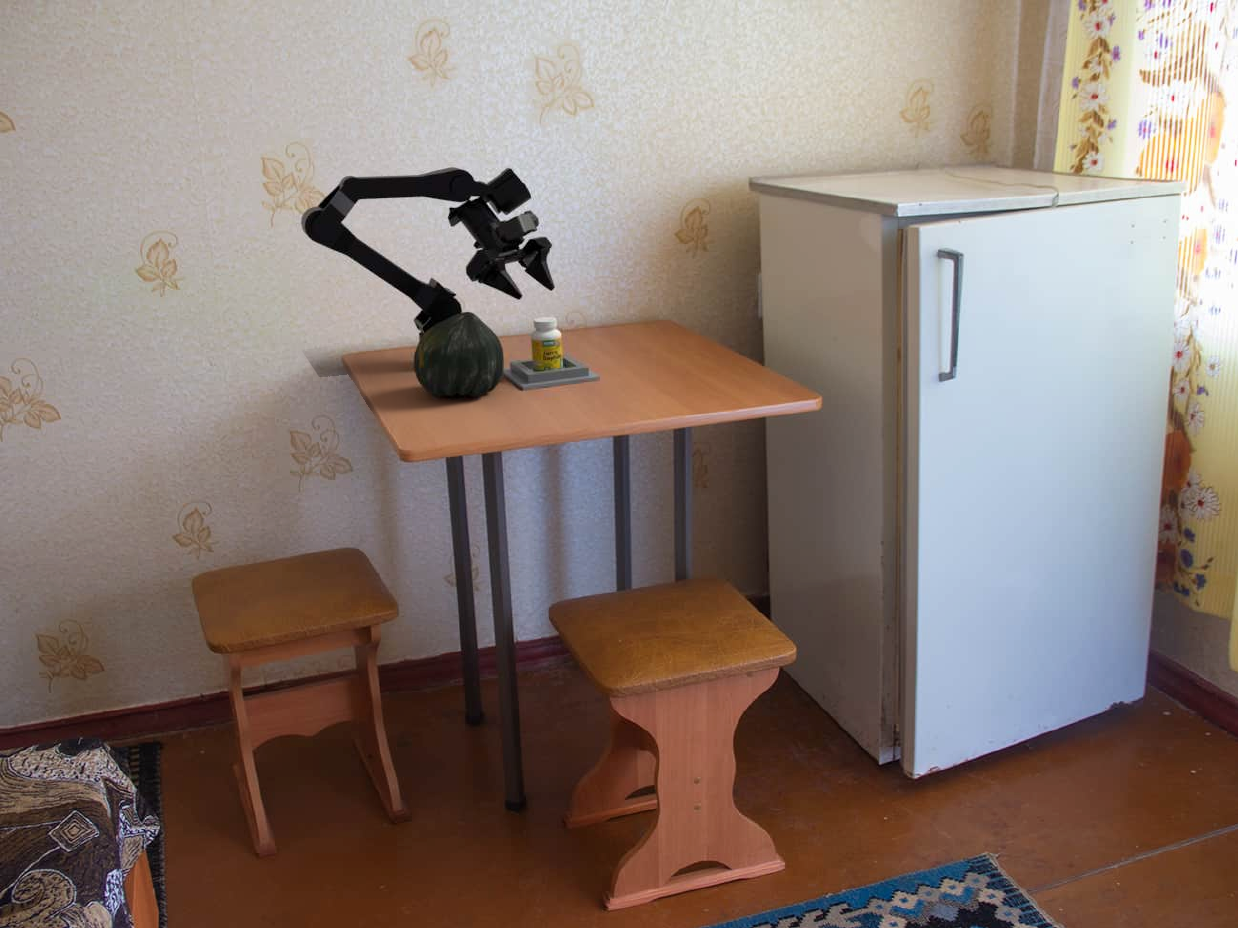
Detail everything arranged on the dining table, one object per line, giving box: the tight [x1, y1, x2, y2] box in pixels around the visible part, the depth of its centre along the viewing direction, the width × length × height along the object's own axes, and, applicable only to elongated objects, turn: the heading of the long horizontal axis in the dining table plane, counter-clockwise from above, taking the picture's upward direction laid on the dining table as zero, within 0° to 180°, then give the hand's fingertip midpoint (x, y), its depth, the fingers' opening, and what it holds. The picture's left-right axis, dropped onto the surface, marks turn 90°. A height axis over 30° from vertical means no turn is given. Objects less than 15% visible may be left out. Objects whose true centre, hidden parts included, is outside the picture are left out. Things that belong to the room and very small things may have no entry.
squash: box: [413, 311, 505, 398], centre depth 195 cm, size 14×15×15 cm
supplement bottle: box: [530, 316, 563, 372], centre depth 205 cm, size 5×5×10 cm
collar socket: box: [502, 354, 601, 391], centre depth 206 cm, size 14×14×2 cm
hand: (537, 293), depth 208 cm, fingers open, 9 cm apart
